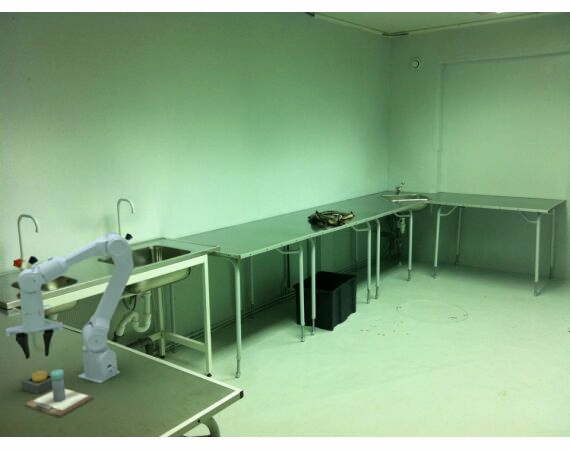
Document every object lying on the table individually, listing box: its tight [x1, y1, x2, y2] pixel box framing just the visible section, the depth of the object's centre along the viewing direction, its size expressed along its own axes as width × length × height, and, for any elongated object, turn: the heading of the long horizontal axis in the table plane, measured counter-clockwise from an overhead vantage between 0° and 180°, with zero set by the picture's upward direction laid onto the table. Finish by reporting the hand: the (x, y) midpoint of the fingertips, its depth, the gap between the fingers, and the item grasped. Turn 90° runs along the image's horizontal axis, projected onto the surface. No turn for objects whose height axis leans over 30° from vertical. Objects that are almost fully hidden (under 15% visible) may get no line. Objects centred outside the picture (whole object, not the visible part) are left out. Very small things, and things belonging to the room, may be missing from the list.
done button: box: [31, 370, 48, 383], centre depth 152 cm, size 4×4×2 cm
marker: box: [50, 368, 66, 402], centre depth 142 cm, size 3×3×8 cm
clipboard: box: [24, 387, 94, 418], centre depth 143 cm, size 14×11×1 cm
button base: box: [20, 372, 52, 395], centre depth 152 cm, size 7×7×2 cm
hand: (37, 356), depth 151 cm, fingers open, 4 cm apart
